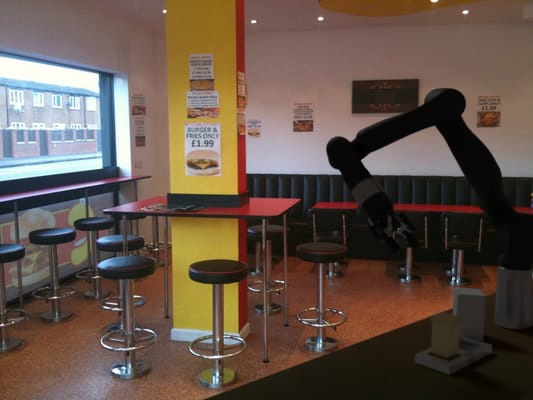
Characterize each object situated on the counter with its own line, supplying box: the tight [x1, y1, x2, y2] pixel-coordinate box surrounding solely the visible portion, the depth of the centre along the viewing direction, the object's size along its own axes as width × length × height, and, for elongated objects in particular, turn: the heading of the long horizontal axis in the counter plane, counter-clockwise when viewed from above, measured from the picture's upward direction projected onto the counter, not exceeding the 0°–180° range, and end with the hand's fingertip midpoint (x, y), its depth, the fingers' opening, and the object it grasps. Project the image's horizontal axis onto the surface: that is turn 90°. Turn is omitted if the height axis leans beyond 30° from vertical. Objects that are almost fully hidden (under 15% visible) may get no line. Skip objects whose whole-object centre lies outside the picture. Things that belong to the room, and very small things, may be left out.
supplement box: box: [452, 287, 487, 342], centre depth 150 cm, size 7×7×13 cm
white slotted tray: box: [414, 335, 493, 376], centre depth 133 cm, size 20×9×3 cm, turn 131°
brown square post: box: [429, 311, 462, 361], centre depth 130 cm, size 5×5×11 cm
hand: (407, 249), depth 136 cm, fingers open, 8 cm apart
